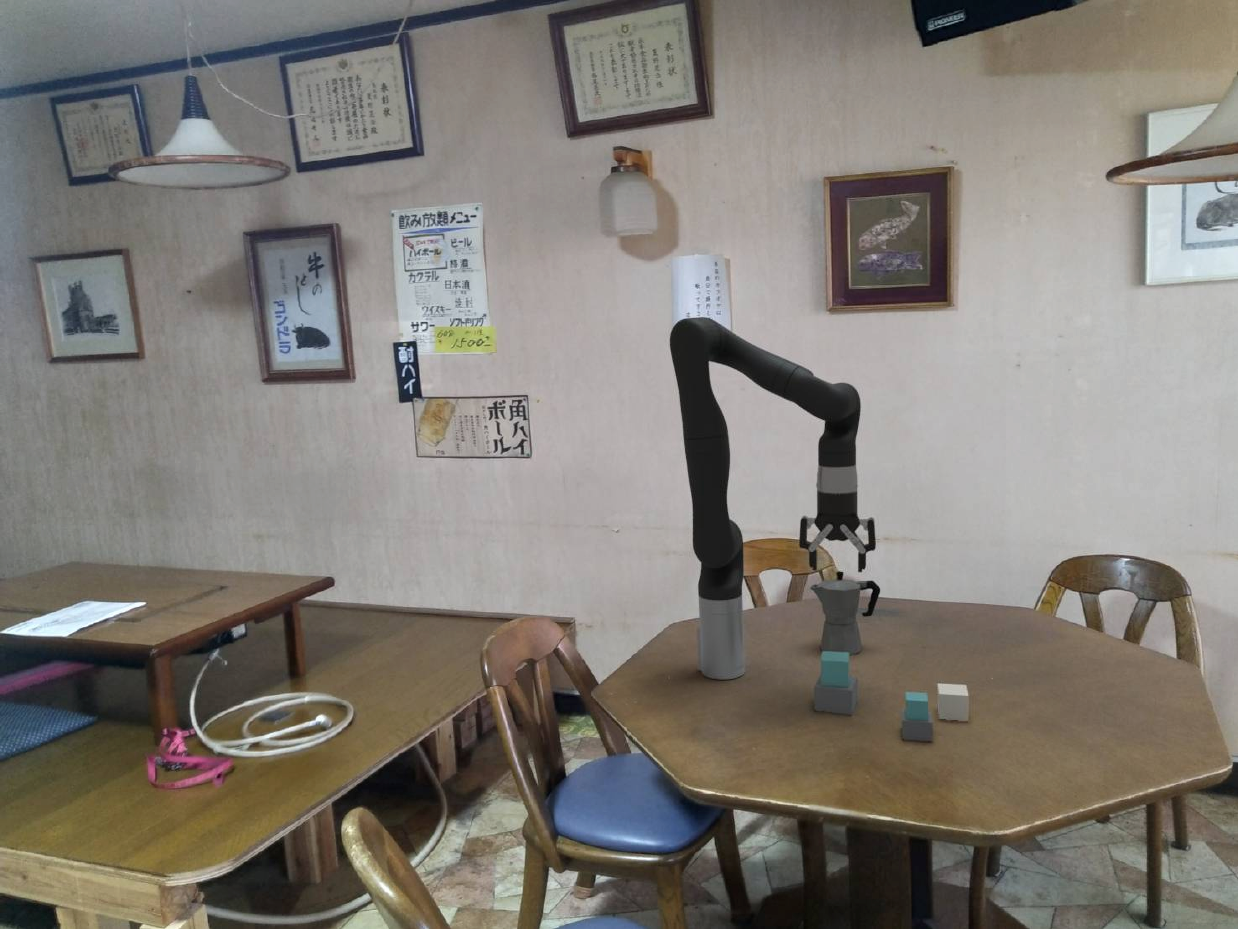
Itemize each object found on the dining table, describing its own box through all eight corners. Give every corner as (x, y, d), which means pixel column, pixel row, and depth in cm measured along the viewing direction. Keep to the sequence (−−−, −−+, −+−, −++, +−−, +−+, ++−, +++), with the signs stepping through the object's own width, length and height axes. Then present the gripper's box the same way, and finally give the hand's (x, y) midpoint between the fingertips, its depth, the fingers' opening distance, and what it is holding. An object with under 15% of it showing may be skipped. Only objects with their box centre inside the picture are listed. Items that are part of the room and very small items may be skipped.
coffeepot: (815, 657, 195) (813, 578, 192) (808, 642, 204) (806, 567, 202) (886, 655, 194) (885, 575, 191) (875, 640, 203) (874, 564, 201)
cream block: (939, 720, 161) (939, 694, 161) (937, 708, 166) (937, 683, 165) (968, 722, 160) (968, 695, 159) (966, 710, 165) (966, 685, 164)
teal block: (821, 685, 167) (820, 660, 167) (823, 675, 172) (822, 651, 171) (848, 687, 166) (848, 661, 165) (849, 677, 171) (849, 652, 170)
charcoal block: (814, 711, 168) (814, 686, 167) (821, 697, 174) (820, 673, 174) (852, 716, 165) (851, 690, 164) (857, 701, 171) (857, 676, 171)
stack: (902, 739, 154) (902, 701, 153) (901, 727, 159) (901, 690, 158) (932, 741, 153) (932, 703, 152) (931, 729, 158) (931, 691, 157)
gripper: (876, 485, 170) (876, 567, 172) (801, 484, 174) (802, 564, 177) (875, 492, 163) (874, 577, 165) (797, 491, 167) (797, 574, 170)
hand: (837, 570), depth 171 cm, fingers open, 8 cm apart
